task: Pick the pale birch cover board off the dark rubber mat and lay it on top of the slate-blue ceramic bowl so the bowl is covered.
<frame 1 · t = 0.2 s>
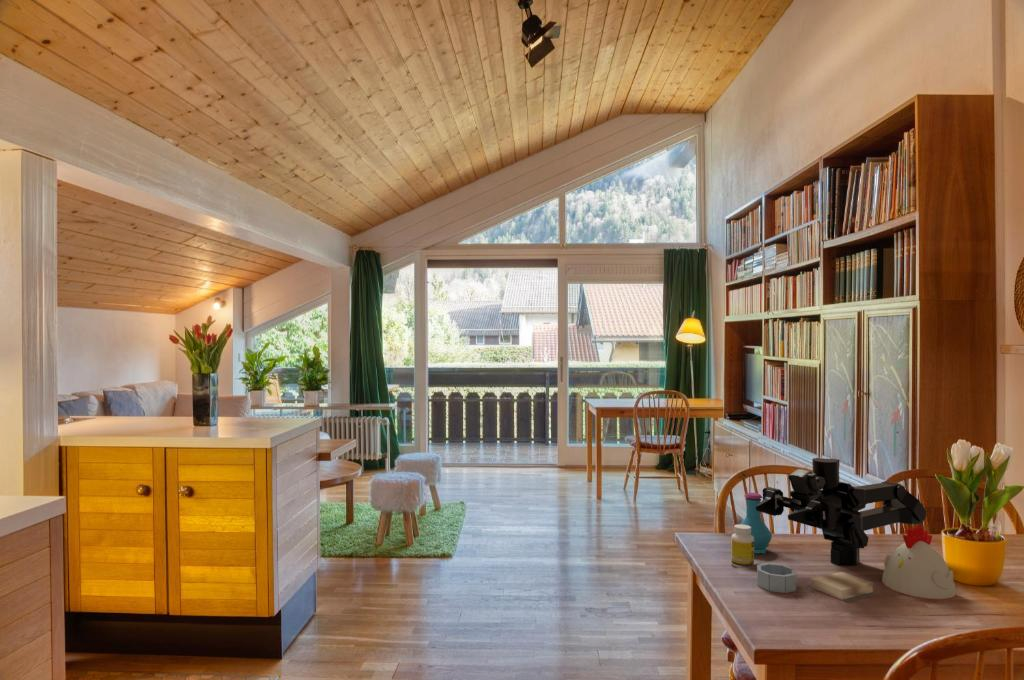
hand: (771, 512, 146), 17 cm above the table, tool horizontal, fingers open, 9 cm apart
mat: (841, 596, 139), on the table
white ceramic hen: (918, 594, 141), on the table
teal vase: (753, 550, 171), on the table
cover board: (841, 589, 139), point 1 cm above the table, touching mat
supplement bottle: (742, 566, 159), on the table
bowl: (776, 591, 142), on the table
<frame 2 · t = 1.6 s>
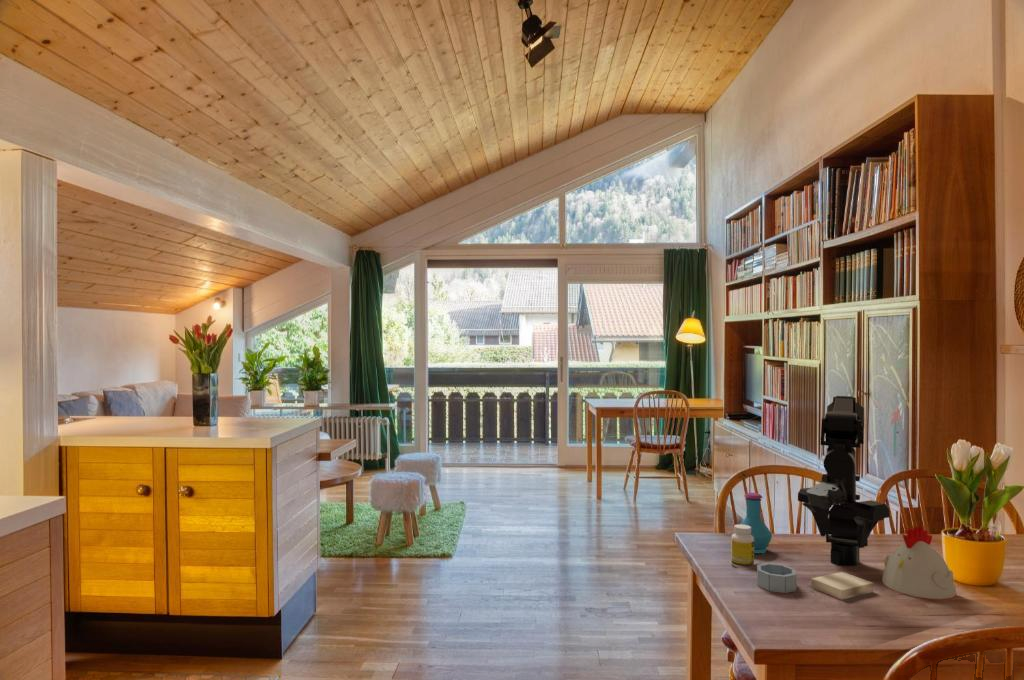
hand: (841, 541, 139), 12 cm above the table, tool pointing down, fingers open, 9 cm apart
nothing on the table moved.
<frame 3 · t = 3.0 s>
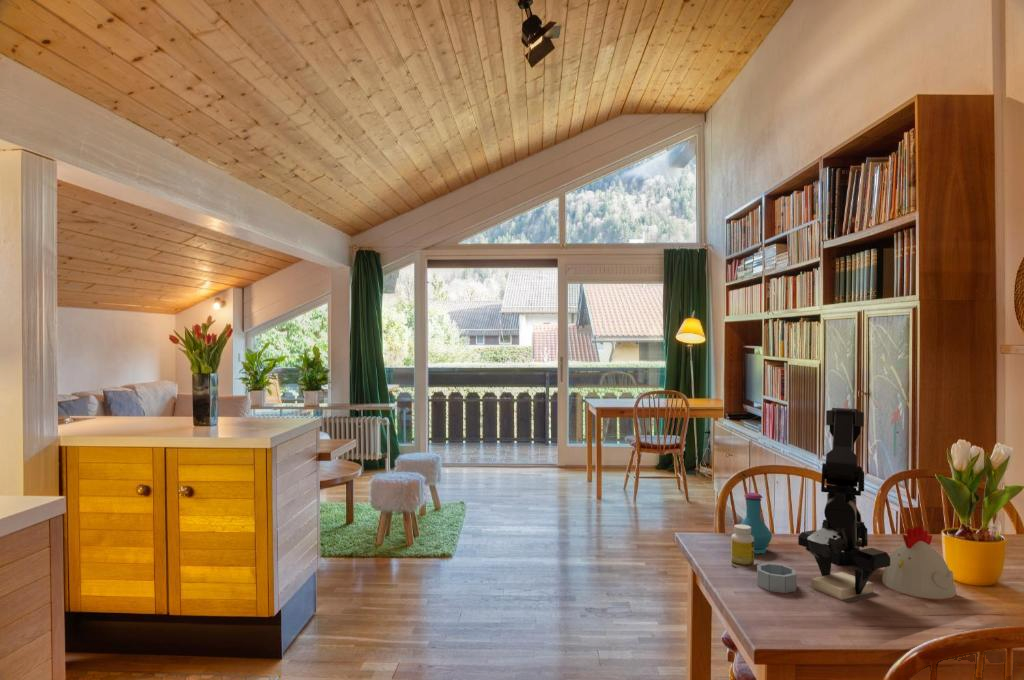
hand: (841, 587, 139), 2 cm above the table, tool pointing down, fingers closed on cover board, 7 cm apart
cover board: (841, 589, 139), point 1 cm above the table, touching gripper, mat
everything else where it was.
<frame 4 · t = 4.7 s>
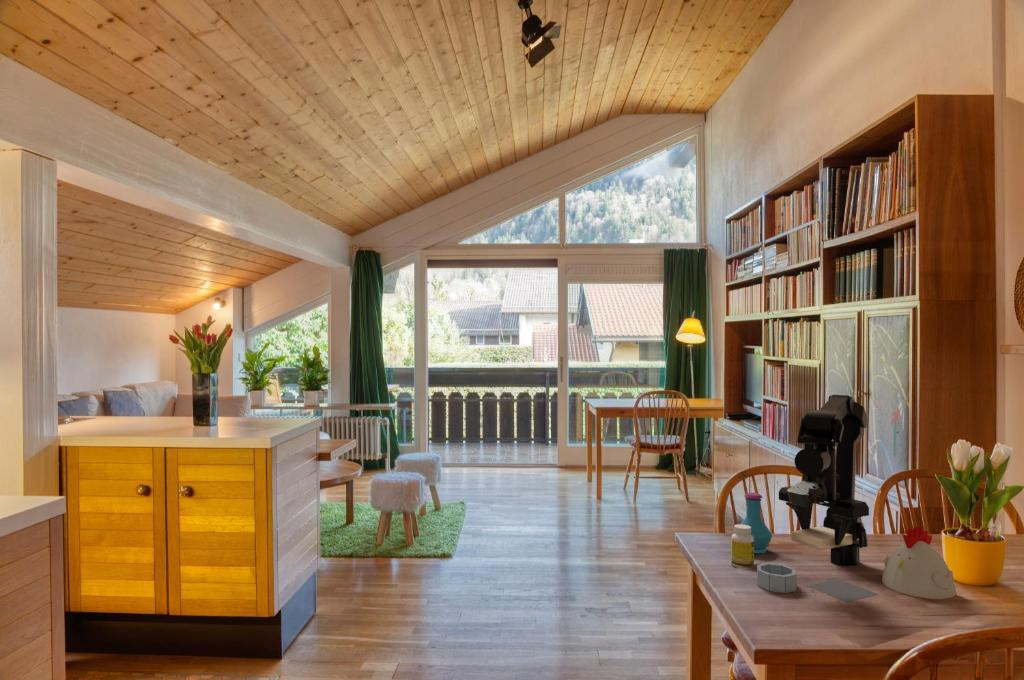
hand: (821, 540, 140), 12 cm above the table, tool pointing down, fingers closed on cover board, 7 cm apart
cover board: (821, 542, 140), point 12 cm above the table, touching gripper
everything else where it was.
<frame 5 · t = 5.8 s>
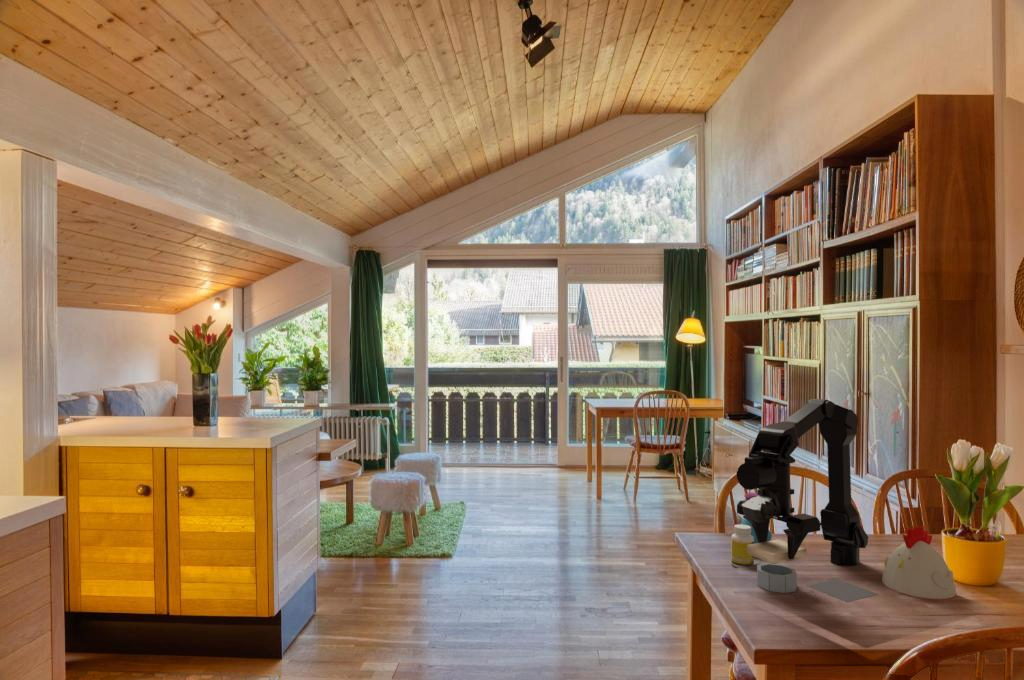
hand: (776, 553, 142), 9 cm above the table, tool pointing down, fingers closed on cover board, 7 cm apart
cover board: (776, 555, 142), point 8 cm above the table, touching gripper
everything else where it was.
when the fingers open (7 cm above the table, at t = 6.7 s): cover board drops 1 cm, resting on bowl.
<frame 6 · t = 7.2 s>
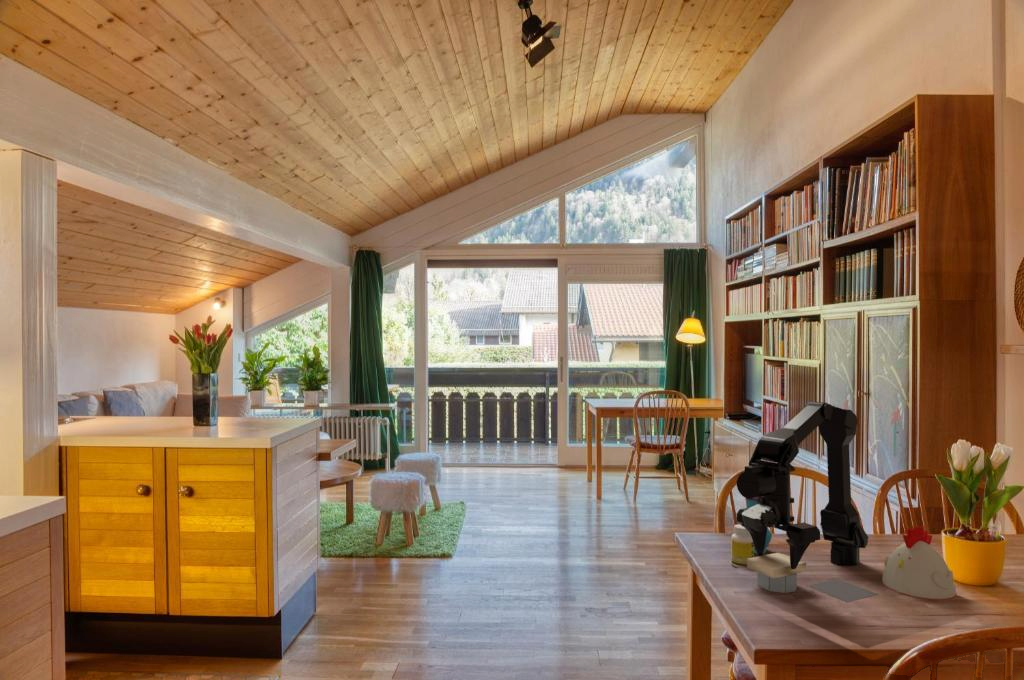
hand: (776, 562, 142), 7 cm above the table, tool pointing down, fingers open, 9 cm apart
cover board: (776, 569, 142), point 5 cm above the table, touching bowl
everything else where it was.
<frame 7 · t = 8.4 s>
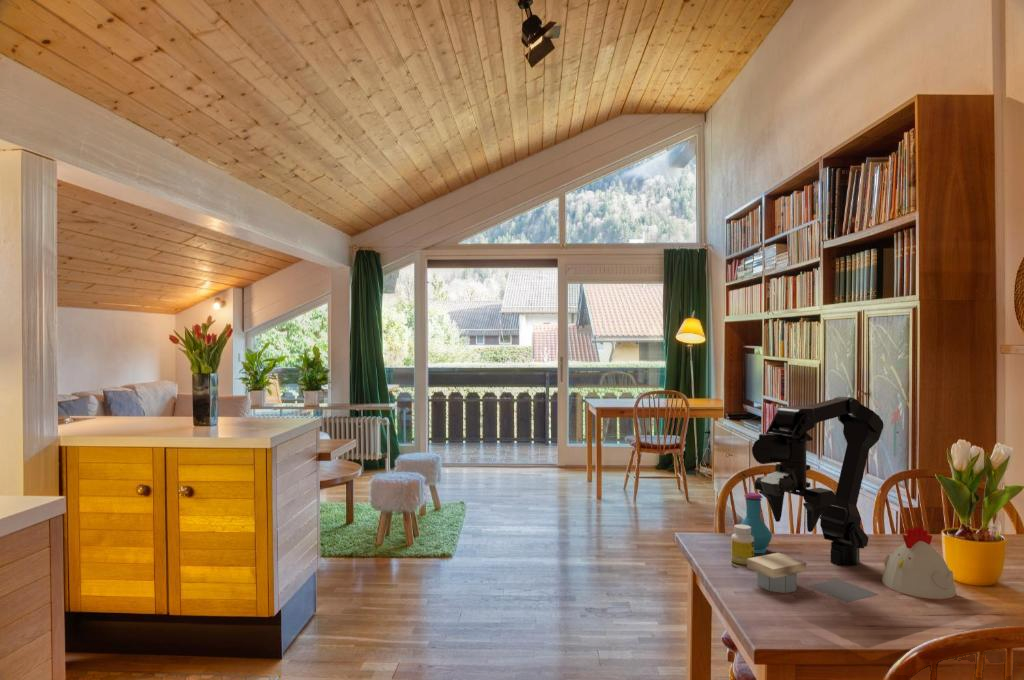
hand: (793, 526, 149), 12 cm above the table, tool pointing down, fingers open, 9 cm apart
nothing on the table moved.
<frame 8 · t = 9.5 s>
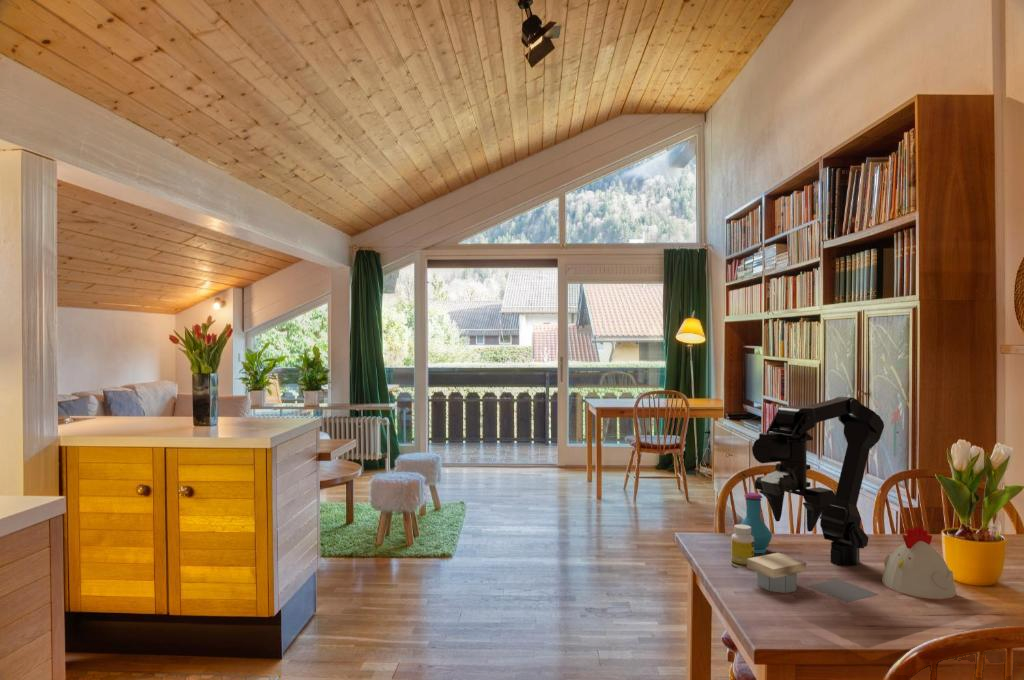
hand: (793, 526, 149), 13 cm above the table, tool pointing down, fingers open, 9 cm apart
nothing on the table moved.
at the end: cover board 0.0 cm off-centre on the bowl, point 5.0 cm above the bowl's base; cover board tilted 0°; cover board touching bowl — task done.
